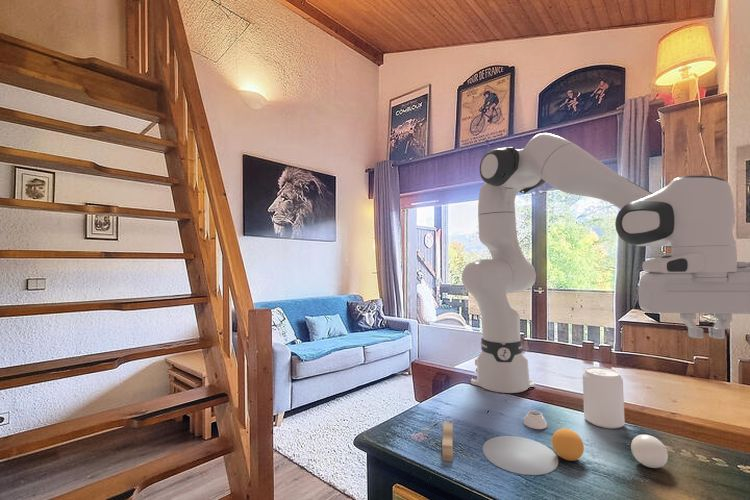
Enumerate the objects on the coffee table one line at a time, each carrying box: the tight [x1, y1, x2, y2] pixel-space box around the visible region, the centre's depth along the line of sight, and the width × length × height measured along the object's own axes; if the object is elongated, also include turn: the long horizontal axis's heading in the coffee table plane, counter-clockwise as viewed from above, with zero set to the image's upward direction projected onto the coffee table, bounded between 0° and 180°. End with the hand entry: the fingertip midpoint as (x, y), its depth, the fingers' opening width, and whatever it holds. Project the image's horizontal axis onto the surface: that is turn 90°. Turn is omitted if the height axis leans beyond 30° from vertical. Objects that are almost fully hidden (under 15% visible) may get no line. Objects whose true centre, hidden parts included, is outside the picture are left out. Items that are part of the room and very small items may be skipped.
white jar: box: [523, 410, 548, 430], centre depth 84 cm, size 5×3×5 cm
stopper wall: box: [441, 421, 454, 463], centre depth 75 cm, size 10×2×3 cm, turn 168°
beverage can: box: [582, 366, 625, 429], centre depth 85 cm, size 8×8×12 cm
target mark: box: [482, 435, 559, 476], centre depth 72 cm, size 14×14×1 cm
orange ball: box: [551, 428, 585, 461], centre depth 70 cm, size 6×6×6 cm
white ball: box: [630, 434, 669, 469], centre depth 67 cm, size 6×6×6 cm
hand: (706, 337), depth 66 cm, fingers closed
